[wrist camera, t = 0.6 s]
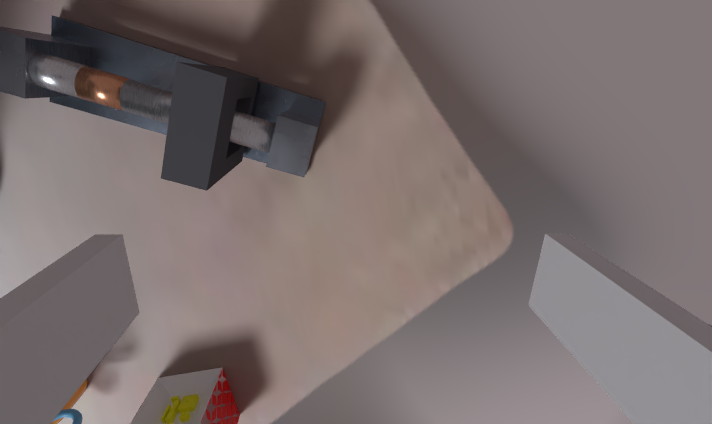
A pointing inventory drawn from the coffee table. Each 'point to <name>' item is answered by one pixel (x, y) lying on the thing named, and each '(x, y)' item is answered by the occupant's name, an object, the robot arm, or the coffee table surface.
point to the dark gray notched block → (205, 123)
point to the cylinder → (67, 408)
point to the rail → (147, 89)
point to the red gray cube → (189, 400)
